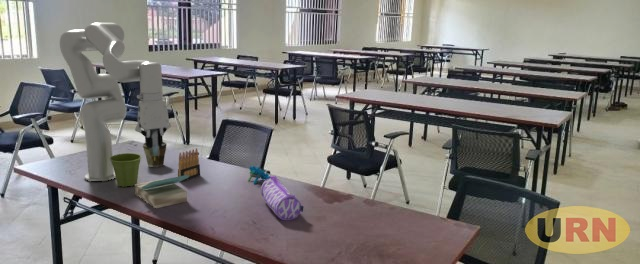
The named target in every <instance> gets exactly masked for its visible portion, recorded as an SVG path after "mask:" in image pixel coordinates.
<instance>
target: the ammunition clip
mask: <svg viewBox="0 0 640 264" xmlns="http://www.w3.org/2000/svg"><path fill="white" fill-rule="evenodd" d="M184 175H188V177H189V178H186V179H184V180H182V181H180V182H179V183H183V182H186V181H189V180H192V179H195V178H198V177H201V166H200V161H199V152H198V148H195V149H194V148H193V149H192V150H191V149H189V152H188V151H187V150H186V151H185V152H184V151H182V152H179V155H178V169H177V177H179V176H184Z"/></svg>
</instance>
